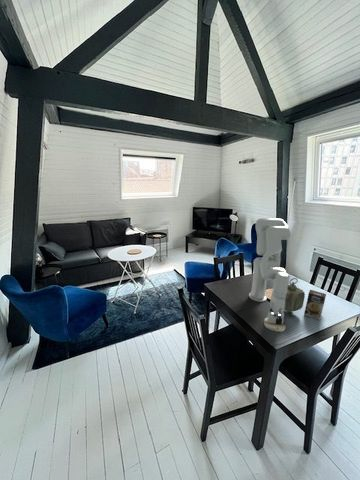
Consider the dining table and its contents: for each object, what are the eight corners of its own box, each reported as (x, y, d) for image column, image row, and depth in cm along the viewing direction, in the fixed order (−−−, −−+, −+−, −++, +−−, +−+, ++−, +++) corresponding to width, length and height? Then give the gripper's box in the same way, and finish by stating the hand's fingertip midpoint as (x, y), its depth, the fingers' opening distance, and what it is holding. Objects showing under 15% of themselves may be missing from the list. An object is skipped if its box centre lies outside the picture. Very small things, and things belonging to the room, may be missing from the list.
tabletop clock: (290, 307, 144) (296, 274, 138) (302, 314, 136) (309, 279, 130) (274, 311, 139) (280, 277, 132) (286, 319, 131) (292, 283, 124)
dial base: (261, 318, 131) (261, 316, 131) (280, 319, 130) (281, 317, 130) (267, 331, 120) (267, 328, 119) (288, 332, 119) (289, 330, 118)
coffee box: (303, 314, 136) (308, 292, 132) (305, 310, 141) (309, 289, 137) (320, 320, 130) (325, 297, 126) (321, 315, 135) (326, 293, 131)
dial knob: (268, 322, 124) (269, 313, 123) (267, 320, 126) (268, 311, 125) (285, 325, 122) (286, 316, 121) (284, 322, 124) (285, 313, 123)
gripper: (267, 285, 128) (264, 309, 133) (278, 301, 111) (274, 328, 116) (280, 286, 128) (276, 310, 132) (292, 301, 111) (287, 329, 115)
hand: (275, 318), depth 124 cm, fingers open, 9 cm apart
